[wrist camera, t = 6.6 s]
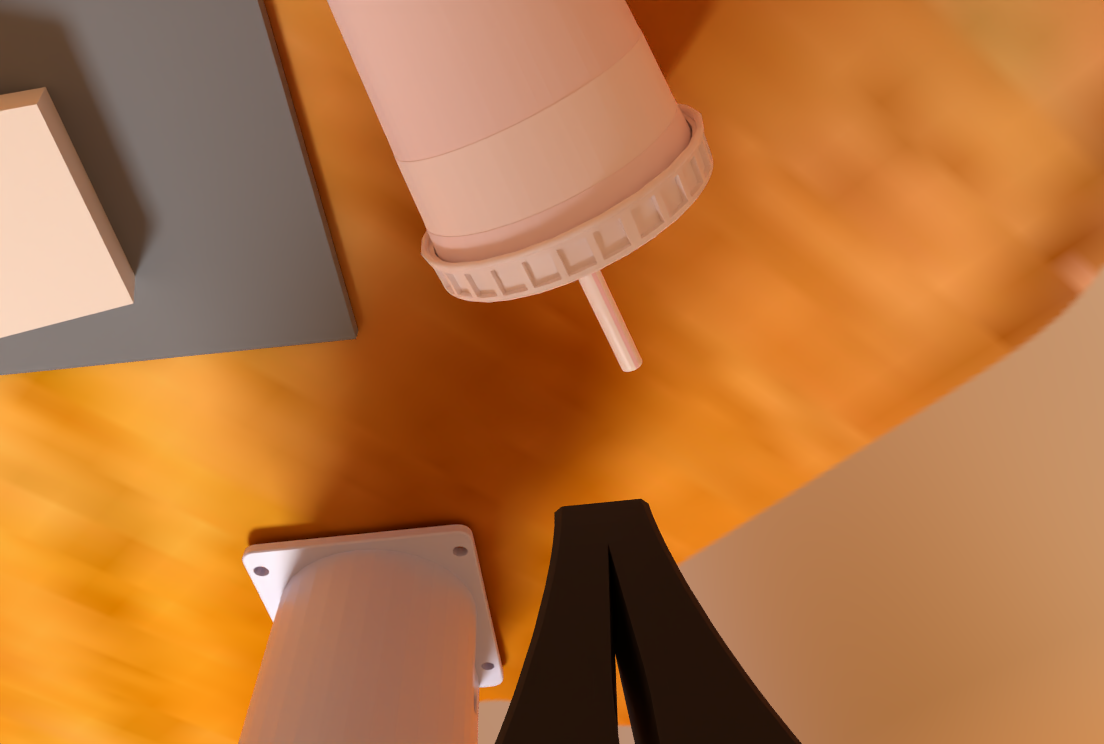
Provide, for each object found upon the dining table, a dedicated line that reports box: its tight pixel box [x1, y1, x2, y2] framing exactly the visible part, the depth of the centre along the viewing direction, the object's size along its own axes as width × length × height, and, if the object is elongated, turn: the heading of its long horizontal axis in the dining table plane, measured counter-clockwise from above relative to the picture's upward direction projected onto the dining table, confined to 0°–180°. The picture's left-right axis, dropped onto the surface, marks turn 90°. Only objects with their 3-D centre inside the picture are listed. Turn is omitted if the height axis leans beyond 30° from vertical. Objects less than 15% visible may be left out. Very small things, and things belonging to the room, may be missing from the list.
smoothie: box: [327, 0, 713, 372], centre depth 15 cm, size 6×6×14 cm
